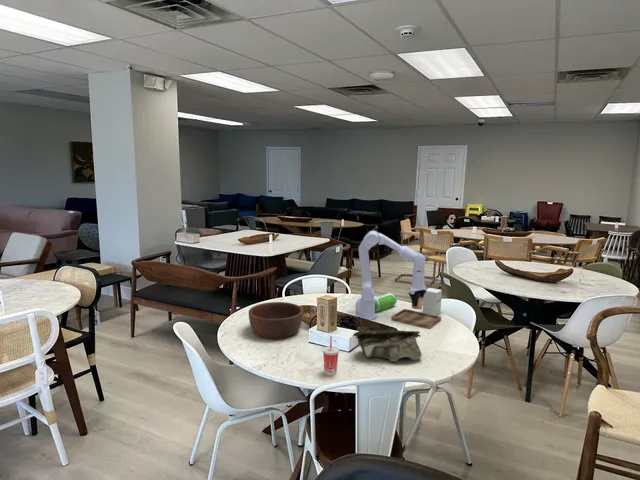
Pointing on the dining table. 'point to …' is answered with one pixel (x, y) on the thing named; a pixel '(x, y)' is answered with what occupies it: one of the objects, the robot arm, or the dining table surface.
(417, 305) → the terracotta cup
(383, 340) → the mossy rock
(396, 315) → the walnut tray
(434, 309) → the supplement box
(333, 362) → the beverage cup
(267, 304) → the wooden bowl
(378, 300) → the speaker
